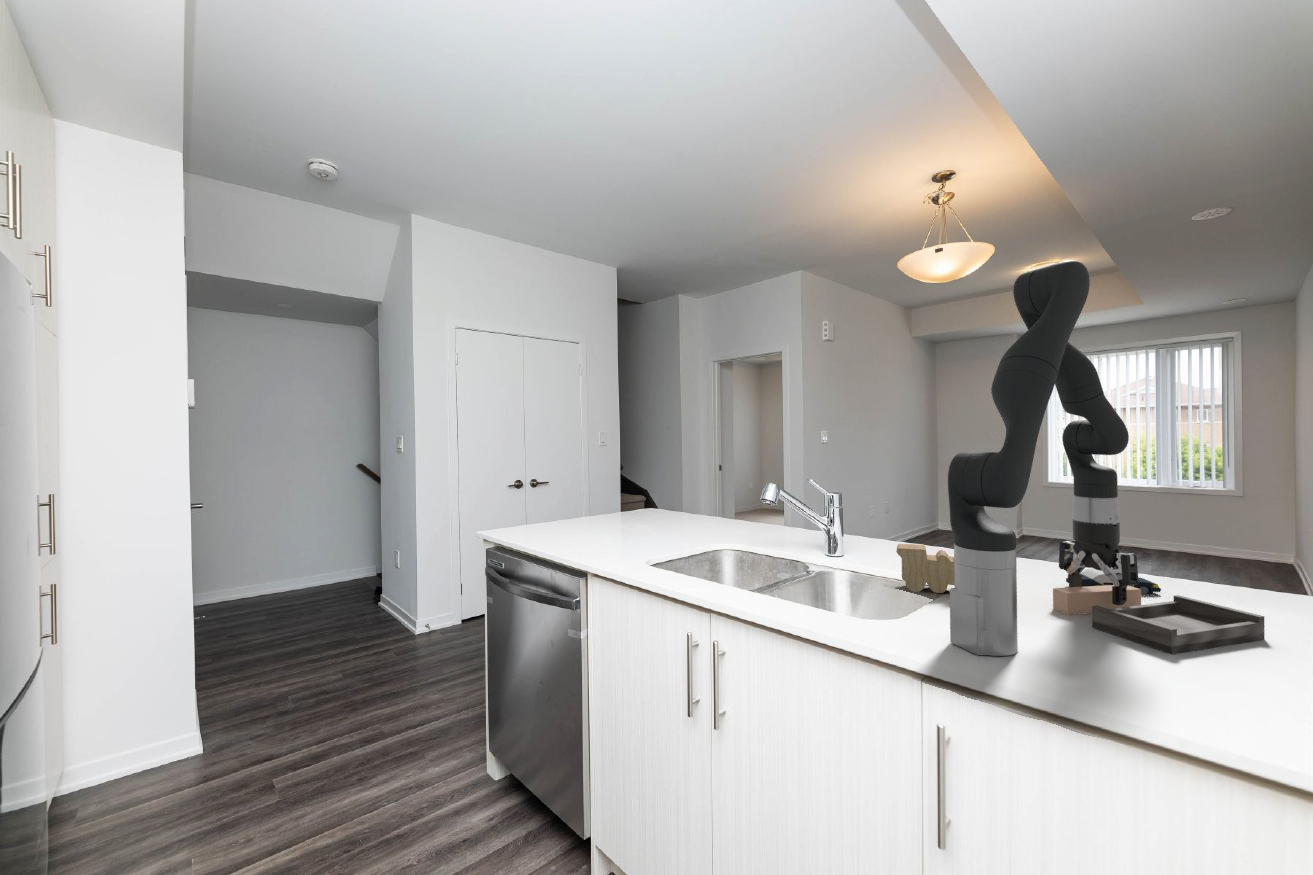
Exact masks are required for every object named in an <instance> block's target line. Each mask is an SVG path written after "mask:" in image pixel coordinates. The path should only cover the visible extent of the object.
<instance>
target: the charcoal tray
mask: <svg viewBox="0 0 1313 875" xmlns="http://www.w3.org/2000/svg"><path fill="white" fill-rule="evenodd" d="M1091 615H1092V618H1091V619H1092V620H1091V621H1092V622H1091V624H1092V626H1091V628H1092V627H1093V629H1096V630H1098V629H1099V630H1098V631H1101V632H1103V633H1107V634H1110V635H1113V636H1116V637H1118V638H1123V639H1125V640H1128V641H1131V642H1134V643H1137V644H1140V645H1143V646H1147V647H1148V648H1151V649H1154V650H1155V649H1156V650H1158V651H1160V650H1162V651H1161V652H1163V651H1164V653H1166V654H1169V653H1170V655H1176V654H1175V653H1177V654H1182V653H1188V652H1194V651H1193V650H1195V651H1200V650H1206V649H1212V648H1220V647H1225V646H1233V645H1239V644H1245V643H1251V642H1257V641H1264V640H1265V616H1264V615H1260V614H1257V613H1252V612H1248V611H1244V610H1240V609H1236V608H1233V607H1232V608H1231V607H1227V606H1225V605H1219V604H1216V603H1211V602H1207V601H1202V600H1199V599H1195V598H1191V597H1187V596H1182V595H1178V594H1177V595H1173V600H1171V601H1164V602H1163V601H1161V602H1156V603H1155V602H1154V603H1147V604H1141V605H1138V606H1130V607H1123V608H1115V609H1108V608H1104V607H1101V606H1098V605H1096V606H1092V613H1091Z"/></svg>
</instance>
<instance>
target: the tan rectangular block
mask: <svg viewBox="0 0 1313 875" xmlns="http://www.w3.org/2000/svg"><path fill="white" fill-rule="evenodd" d="M1112 586H1114V585H1105V586H1087V587H1069V586H1068V587H1053V588H1052V609H1053V610H1055V611H1057V612H1059V613H1062V614H1064V613H1065V614H1064V615H1067V616H1069V615H1070V616H1071V615H1072V614H1073V615H1084V614H1083V613H1090V614H1092V606H1096V605H1098V606H1101V607H1104V608H1108V609H1115V608H1123V607H1130V606H1138V605H1142V594H1141V589H1138V588H1135V587H1131V586H1127V601H1126V603H1124V604H1123V605H1118V606H1117V605H1114V604H1113V603H1112ZM1081 613H1082V614H1081Z"/></svg>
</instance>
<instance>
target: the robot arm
mask: <svg viewBox="0 0 1313 875" xmlns="http://www.w3.org/2000/svg"><path fill="white" fill-rule="evenodd" d="M1090 281H1091V280H1090V275H1089V271H1088V268H1087V267H1086V265H1085V264H1084V263H1083V262H1080V261H1078V260H1075V259H1073V260H1072V259H1071V260H1064V261H1060V262H1055V263H1053V264H1049V265H1046V266H1042V267H1039V268H1036V269H1032V270H1028V271H1026V272H1024V273H1021V274H1020V275H1018V276H1017V278H1016V279H1015V281H1014V285H1013V291H1012V292H1013V293H1012V294H1013V300H1014V303H1015V306H1016V308H1017V311H1018V313H1019V315H1020V317H1021V319H1022V321H1023V323H1024V325H1025V327H1026V328H1027V331H1025V333H1024V334H1022V335H1021V336H1020V337H1019V338H1018V339H1016V341H1014V343H1013V344H1011V346H1009V348H1008V349H1007V350H1006V351H1005V352H1004V353H1003V355H1002V357H1001V359H1000V361H999V363H998V365H997V368H996V372H995V374H994V377H993V380H992V384H991V388H990V393H991V397H992V401H993V403H994V405H995V407H996V409H997V411H998V413H999V415H1000V417H1001V420H1002V422H1003V423H1004V426H1005V437H1004V442H1003V444H1002V447H1001V450H999V451H998V452H997V451H995V452H993V451H964V452H962V451H961V452H959V453H956V454H955V456H953V458H952V459H951V461H950V463H949V466H948V467H949V468H948V471H947V472H948V473H947V491H948V492H947V493H948V504H949V505H948V507H949V519H950V521H949V522H950V528H951V531H952V534H953V543H954V544H953V551H954V552H953V557H954V579H955V586H954V587H952V588H950V589H949V625H950V626H949V628H950V629H949V630H950V632H949V633H950V634H949V635H950V636H949V637H950V643H951V644H954V645H955V646H958V647H959V648H962V649H964V650H965V651H968V652H970V653H973V655H977V656H991V657H992V656H993V657H994V656H997V657H1006V656H1008V657H1009V656H1012V655H1015V654H1016V653H1018V651H1019V650H1018V648H1019V646H1018V645H1019V642H1018V591H1017V589H1018V586H1017V585H1018V583H1017V580H1018V579H1017V578H1018V577H1017V570H1018V569H1017V535H1016V533H1015V531H1014V530H1013V529H1011V528H1009V527H1008V526H1005V525H1004V524H1002V523H999V522H998V521H996V520H994V519H993V518H992V517H991V516H990V515H989V514H988V513H987V512H986V510H985V507H986V508H998V509H999V508H1000V509H1012V508H1016V507H1017V506H1018V505H1019V504H1020V503H1021V501H1022V500H1023V499H1024V496H1025V494H1026V491H1027V489H1028V485H1029V481H1030V478H1031V473H1032V467H1033V462H1034V457H1035V452H1036V447H1037V442H1038V438H1039V434H1040V430H1041V426H1042V423H1043V419H1044V417H1045V414H1046V410H1047V407H1048V404H1049V403H1050V402H1049V401H1050V399H1051V396H1052V394H1053V391H1054V388H1055V390H1056V391H1057V394H1058V398H1059V401H1060V403H1061V407H1062V409H1063V410H1064V411H1065V413H1067V414H1070V415H1074V416H1078V417H1081V418H1084V419H1078V420H1073V421H1070V422H1069V423H1068V424H1067V425H1066V426H1065V428H1064V430H1063V432H1062V437H1061V438H1062V445H1063V448H1064V452H1065V454H1066V457H1067V460H1068V464H1069V466H1070V469H1071V472H1072V476H1073V500H1072V509H1071V510H1072V539H1073V541H1072V540H1065V541H1060V542H1059V554H1058V568H1059V569H1060V570H1063V571H1066V573H1067V575H1068V574H1069V583H1068V587H1082V575H1081V574H1079V573H1082V572H1083V571H1085V570H1086V569H1085V568H1087V569H1092V568H1094V569H1096V570H1100V571H1101V570H1102V571H1103V573H1104V574H1105V575H1106V576H1108V577H1109V578H1110V580H1111V581H1112V583H1113V584H1114V586H1112V603H1113V604H1114V605H1117V606H1118V605H1123V604H1124V603H1126V601H1127V586H1129V585H1137V584H1138V583H1139V580H1138V577H1139V571H1138V568H1139V566H1138V557H1137V556H1138V555H1136V553H1134V552H1131V553H1130V552H1129V553H1124V552H1120V550H1119V544H1120V542H1121V537H1120V536H1121V531H1120V530H1121V529H1120V528H1121V527H1120V526H1121V525H1120V522H1121V521H1120V520H1121V519H1120V517H1121V516H1120V504H1119V498H1118V497H1119V496H1118V494H1119V493H1118V474H1117V472H1116V470H1115V469H1113V468H1111V467H1108V466H1104V465H1100V464H1099V463H1097V462H1096V460H1095V458H1094V456H1097V455H1098V456H1115V455H1118V454H1121V453H1123V451H1125V449H1126V448H1127V447H1128V444H1129V440H1130V438H1129V437H1130V436H1129V432H1128V428H1127V426H1126V424H1125V423H1124V420H1123V419H1122V418H1121V416H1120V415H1119V414H1118V413H1117V411H1116V410H1115V409H1114V408H1115V407H1113V406H1112V404H1111V402H1110V401H1109V400H1108V399H1107V397H1106V395H1105V393H1104V389H1103V386H1102V382H1101V380H1100V377H1099V373H1098V371H1097V368H1096V367H1095V364H1094V363H1093V362H1092V361H1091V360H1090V359H1089V358H1088V356H1086V354H1084V353H1083V352H1082V351H1081V350H1080V349H1079V348H1077V347H1076V346H1075V345H1073V344H1072V343H1071V342H1069V339H1070V338H1071V335H1072V332H1073V330H1074V328H1075V326H1076V324H1077V322H1078V319H1079V317H1080V316H1081V313H1082V311H1083V309H1084V307H1085V304H1086V302H1087V299H1088V297H1089V296H1088V295H1089V292H1090V284H1091V282H1090ZM1093 455H1094V456H1093ZM1074 553H1075V554H1076V556H1075V558H1074ZM1111 568H1112V569H1111Z"/></svg>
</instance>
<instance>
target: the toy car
mask: <svg viewBox="0 0 1313 875" xmlns="http://www.w3.org/2000/svg"><path fill="white" fill-rule="evenodd" d="M1079 574H1081V575H1082V587H1087V586H1105V585H1114V584H1113V583H1112V581H1111V580H1110V578H1109V577H1108V576H1106V575H1105V574H1104V573H1103V571H1102V570H1101V571H1100V570H1096V569H1094V568H1087V569H1084V570H1083V571H1082V572H1081V573H1079ZM1138 580H1139V583H1138V584H1137V585H1129V586H1131V587H1135V588H1138V589H1141V595H1149V594H1150V593H1161V591H1162V588H1160V586H1159V584H1158V583H1155V582H1152V581H1150V580H1147V579H1146V578H1143V577H1139V576H1138ZM1065 582H1066V583H1068V584H1069V574H1068V573H1067V577H1066V578H1065Z"/></svg>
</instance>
